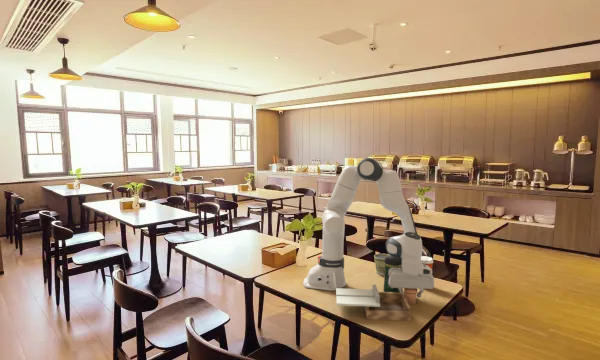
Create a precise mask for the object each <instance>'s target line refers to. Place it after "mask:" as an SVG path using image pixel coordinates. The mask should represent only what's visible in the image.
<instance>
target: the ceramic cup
mask: <svg viewBox="0 0 600 360" xmlns="http://www.w3.org/2000/svg"><path fill="white" fill-rule="evenodd" d="M388 256H390V254H389V253H377V254H374V255H373V257H374V258H373V259H374V264H375V270H376V274H377V275H379V276H383V277H385V258H386V257H388Z"/></svg>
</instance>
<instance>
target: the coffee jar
mask: <svg viewBox="0 0 600 360" xmlns="http://www.w3.org/2000/svg"><path fill="white" fill-rule="evenodd" d="M389 255H390V254H389ZM393 267H394V268H402V258H401V257H393V256H391V255H390V256H388V257H386V258H385V276H383V277H384V280H383V292H398V293H400V291H399V289H398V288H391V287H390V286H389V275H388V271H389V269H391V268H393ZM391 270H392V269H391ZM403 290H404V288H402V290H401V291H402V292H404V291H403Z"/></svg>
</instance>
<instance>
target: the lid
mask: <svg viewBox="0 0 600 360" xmlns="http://www.w3.org/2000/svg"><path fill="white" fill-rule="evenodd" d="M371 286H372V289H371V288H370V289H367V288H345V287H342V288H336V290H335V295H336V297H335V298H336V299H335V300H336V306H344V307H345V306H347V307H348V306H349V307H364V306H373V307H380V296H379V293H378V292H379V290H378V286H377V285H376V284H372V285H371Z"/></svg>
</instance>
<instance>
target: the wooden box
mask: <svg viewBox="0 0 600 360" xmlns="http://www.w3.org/2000/svg"><path fill="white" fill-rule="evenodd" d="M378 293H379V296H380V307H373V306H363V309H364V313H365V317H366V320H384V321H405V322H407V321H408V322H409V321H412V311H411V306H410V304H408V302H407V300H406V298H405V293H404V294H403V293H398V292H384V291H378Z"/></svg>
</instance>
